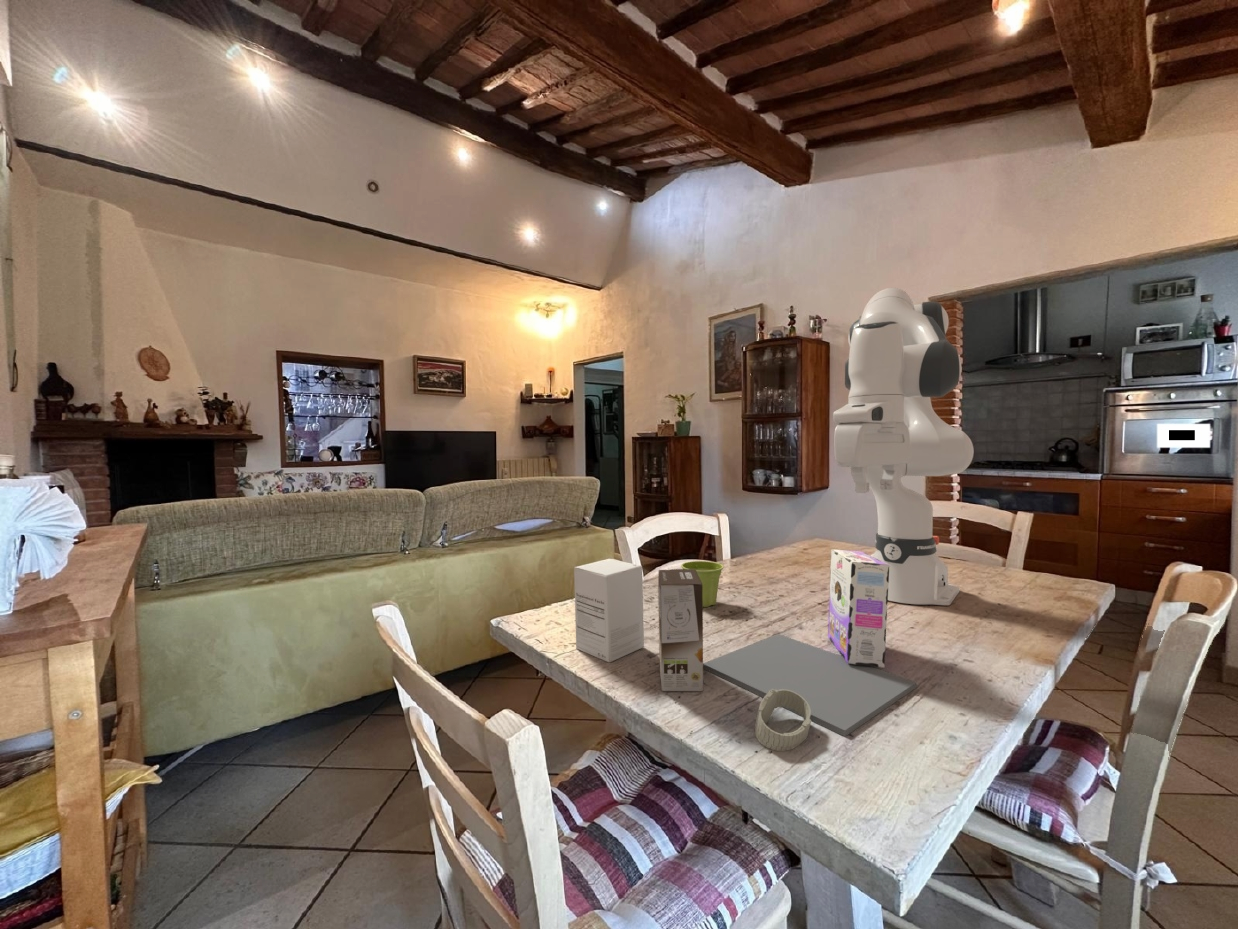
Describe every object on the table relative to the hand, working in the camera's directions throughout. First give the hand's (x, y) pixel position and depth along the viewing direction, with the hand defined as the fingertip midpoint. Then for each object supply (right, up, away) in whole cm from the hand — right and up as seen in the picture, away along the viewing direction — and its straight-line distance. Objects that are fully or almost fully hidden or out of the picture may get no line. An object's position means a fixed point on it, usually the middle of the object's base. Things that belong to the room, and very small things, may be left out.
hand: (874, 491), depth 90 cm
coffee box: (-36, -29, -11) cm, 48 cm away
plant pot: (-27, -27, +24) cm, 45 cm away
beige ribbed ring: (-25, -29, -27) cm, 47 cm away
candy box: (-6, -27, -4) cm, 28 cm away
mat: (-17, -28, -12) cm, 35 cm away
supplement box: (-47, -28, 0) cm, 55 cm away
